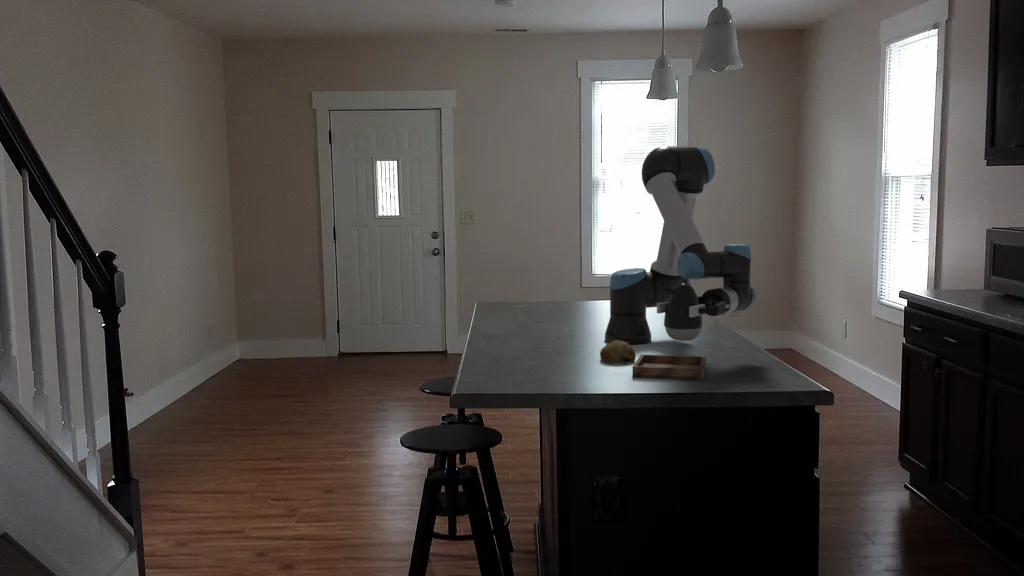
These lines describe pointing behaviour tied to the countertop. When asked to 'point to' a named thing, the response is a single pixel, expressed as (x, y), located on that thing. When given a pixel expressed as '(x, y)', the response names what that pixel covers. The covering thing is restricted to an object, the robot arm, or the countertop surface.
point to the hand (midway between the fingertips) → (673, 310)
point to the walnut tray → (669, 367)
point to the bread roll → (617, 353)
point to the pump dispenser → (682, 313)
